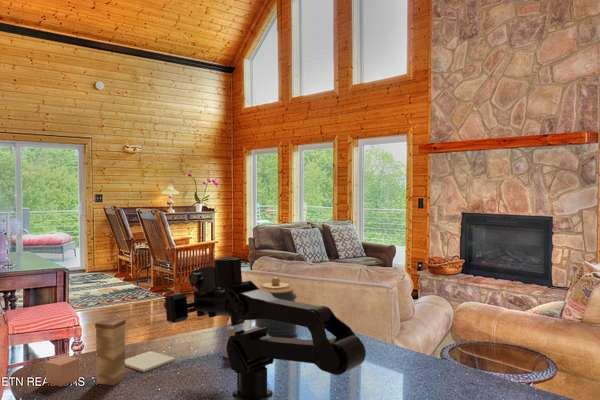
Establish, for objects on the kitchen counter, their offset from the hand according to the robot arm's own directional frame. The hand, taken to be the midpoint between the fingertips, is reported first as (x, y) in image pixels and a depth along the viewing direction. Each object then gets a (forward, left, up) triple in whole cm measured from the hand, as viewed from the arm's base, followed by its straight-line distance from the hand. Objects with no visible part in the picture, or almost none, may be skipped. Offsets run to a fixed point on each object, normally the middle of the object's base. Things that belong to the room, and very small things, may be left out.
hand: (179, 301), depth 124 cm
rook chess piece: (-2, -14, -17) cm, 22 cm away
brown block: (+5, +16, -17) cm, 24 cm away
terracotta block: (+13, +24, -17) cm, 32 cm away
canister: (+4, -36, -17) cm, 40 cm away
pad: (+10, +4, -17) cm, 20 cm away
